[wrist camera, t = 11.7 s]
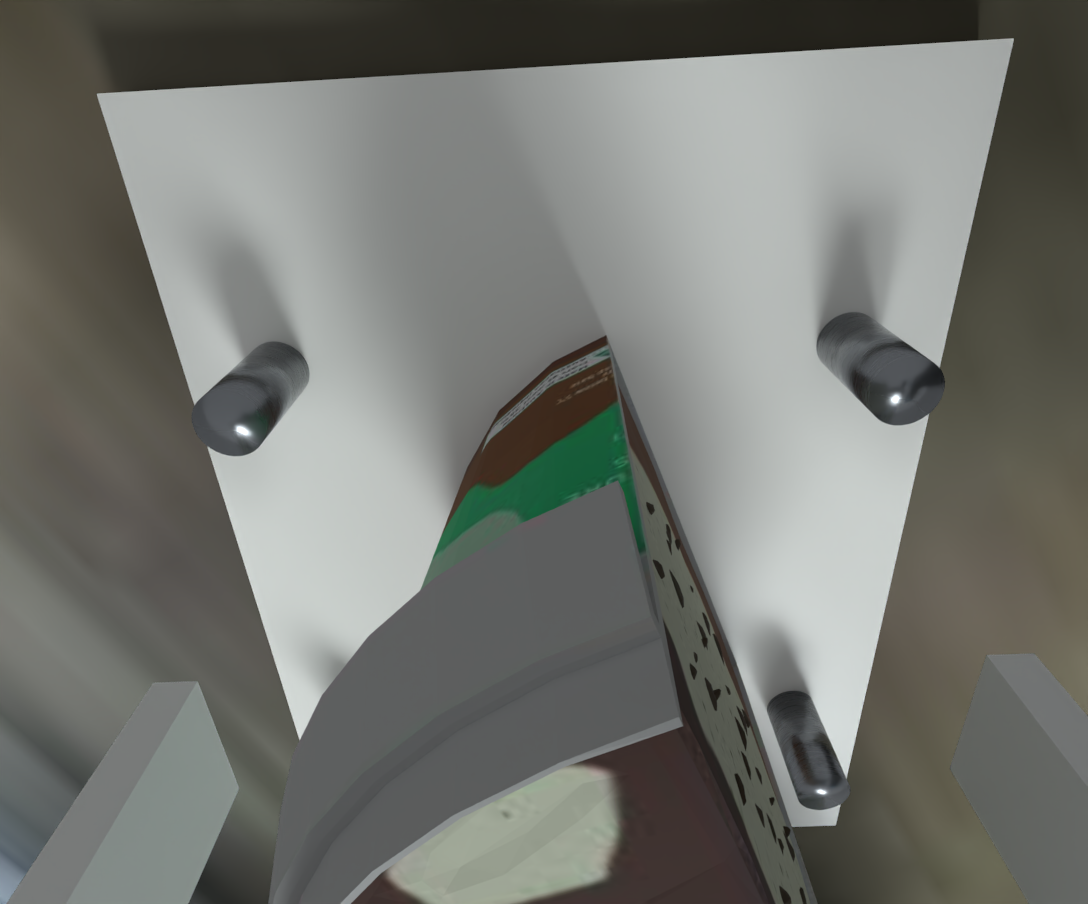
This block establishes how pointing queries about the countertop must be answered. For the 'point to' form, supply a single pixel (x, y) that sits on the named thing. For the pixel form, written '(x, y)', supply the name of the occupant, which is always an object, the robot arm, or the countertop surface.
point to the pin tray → (577, 325)
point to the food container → (544, 697)
